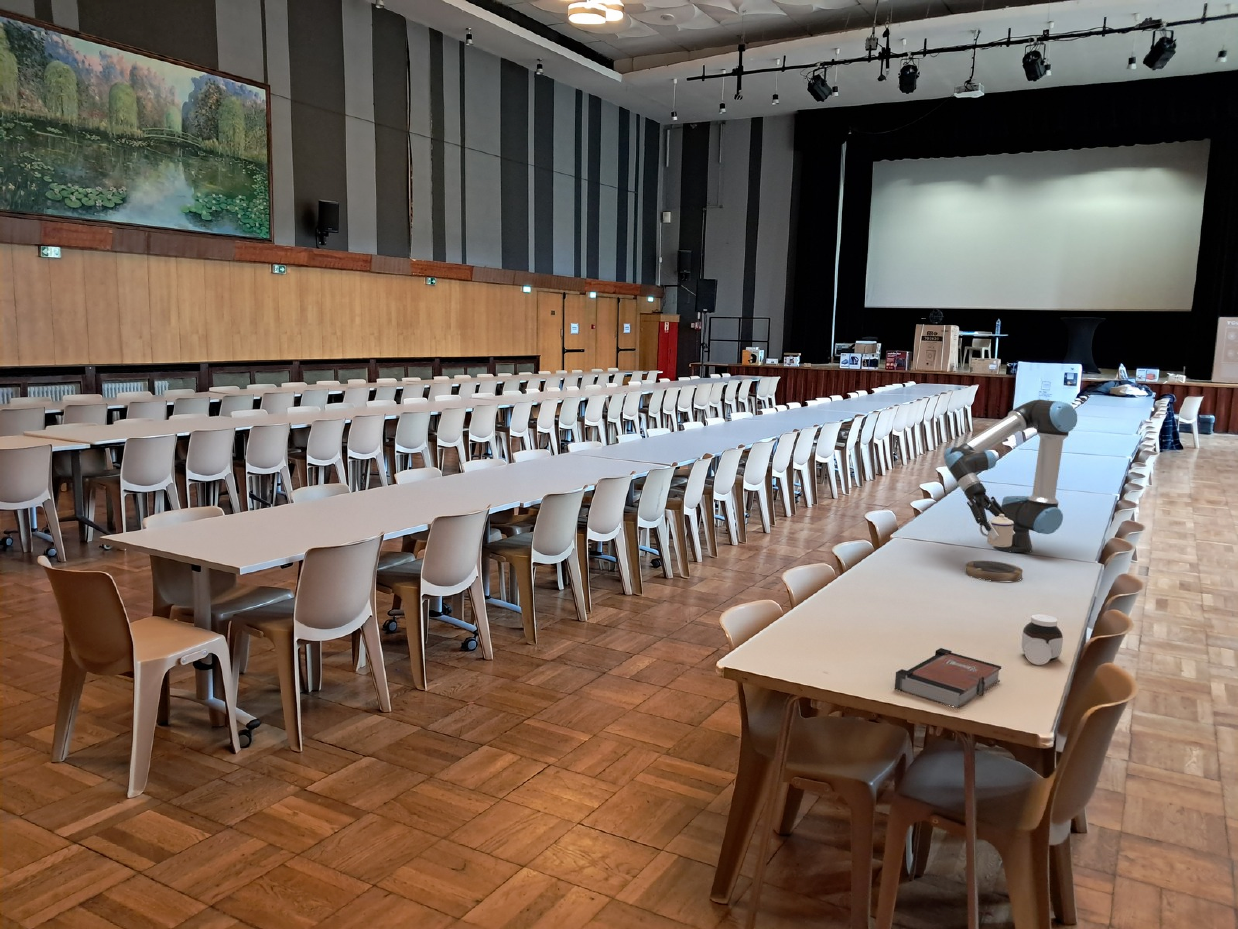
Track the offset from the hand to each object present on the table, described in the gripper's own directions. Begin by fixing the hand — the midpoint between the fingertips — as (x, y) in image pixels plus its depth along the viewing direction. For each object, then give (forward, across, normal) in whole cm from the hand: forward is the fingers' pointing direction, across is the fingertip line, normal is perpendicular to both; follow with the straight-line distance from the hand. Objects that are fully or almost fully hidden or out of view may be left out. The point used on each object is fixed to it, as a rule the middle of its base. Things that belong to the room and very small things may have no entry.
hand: (1004, 536), depth 339 cm
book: (+57, +104, +33) cm, 123 cm away
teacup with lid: (0, 0, -5) cm, 5 cm away
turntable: (+9, 0, -13) cm, 16 cm away
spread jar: (+55, +65, +33) cm, 91 cm away
